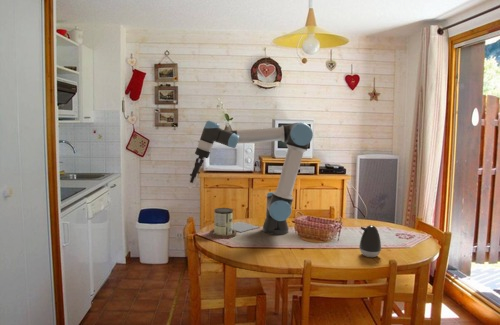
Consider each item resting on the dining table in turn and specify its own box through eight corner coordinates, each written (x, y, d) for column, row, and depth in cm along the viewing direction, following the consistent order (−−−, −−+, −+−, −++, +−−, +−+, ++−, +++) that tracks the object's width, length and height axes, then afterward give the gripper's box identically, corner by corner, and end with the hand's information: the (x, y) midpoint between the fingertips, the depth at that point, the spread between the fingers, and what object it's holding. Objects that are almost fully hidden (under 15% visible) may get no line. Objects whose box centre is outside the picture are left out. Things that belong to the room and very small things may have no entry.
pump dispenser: (355, 252, 200) (357, 222, 198) (375, 252, 200) (377, 222, 199) (362, 259, 190) (364, 228, 188) (383, 259, 190) (386, 228, 189)
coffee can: (215, 231, 228) (216, 207, 227) (233, 232, 227) (234, 208, 226) (212, 236, 218) (212, 211, 216) (230, 237, 217) (231, 212, 215)
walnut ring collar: (241, 234, 223) (241, 232, 223) (222, 239, 212) (222, 237, 212) (223, 229, 233) (223, 226, 233) (204, 233, 222) (204, 231, 222)
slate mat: (259, 227, 239) (259, 226, 239) (240, 232, 227) (240, 231, 227) (240, 222, 250) (240, 221, 250) (221, 226, 238) (221, 226, 238)
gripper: (199, 145, 225) (186, 180, 226) (195, 148, 200) (181, 187, 202) (211, 149, 225) (199, 184, 227) (209, 153, 200) (195, 192, 202)
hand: (190, 186), depth 214 cm, fingers open, 13 cm apart
